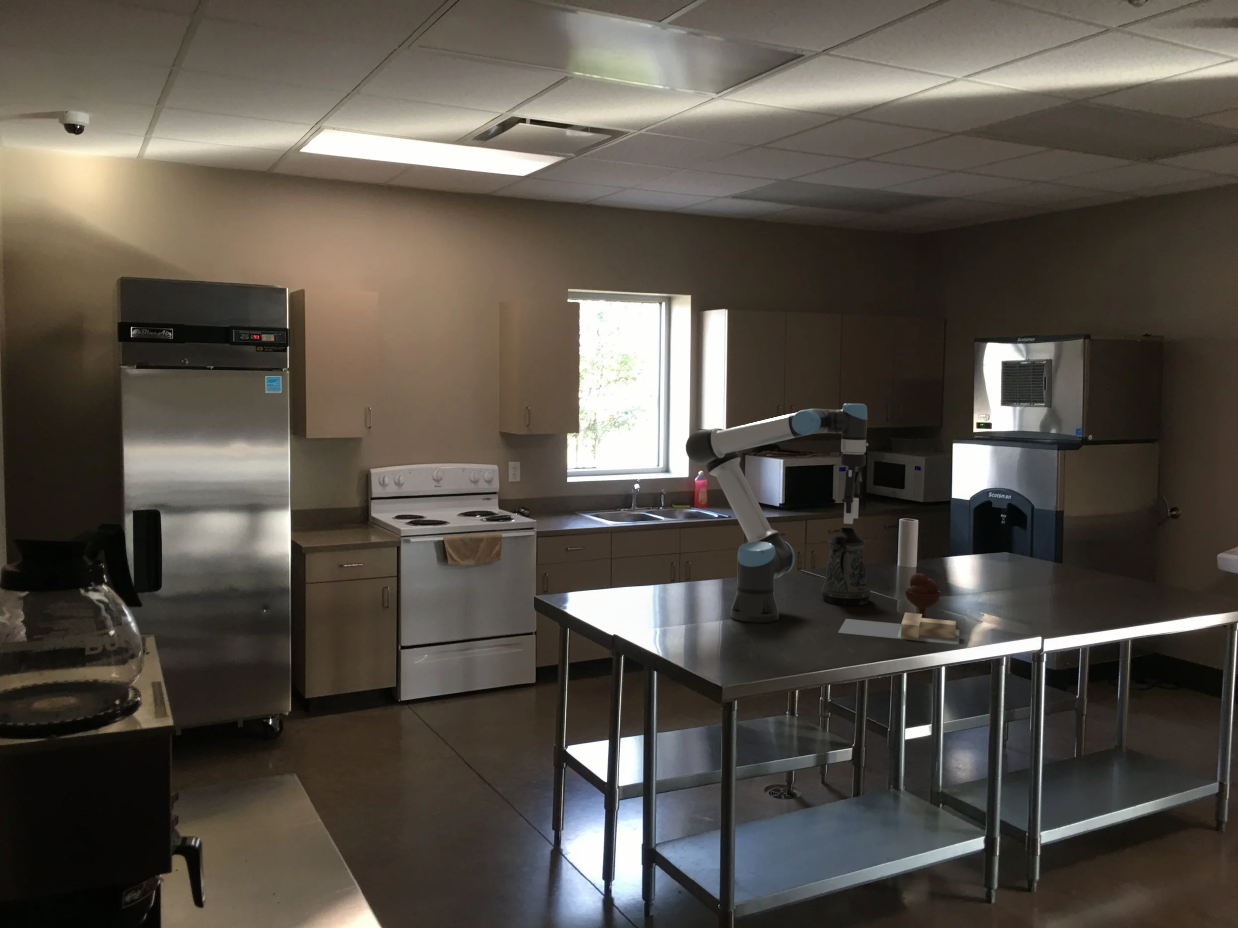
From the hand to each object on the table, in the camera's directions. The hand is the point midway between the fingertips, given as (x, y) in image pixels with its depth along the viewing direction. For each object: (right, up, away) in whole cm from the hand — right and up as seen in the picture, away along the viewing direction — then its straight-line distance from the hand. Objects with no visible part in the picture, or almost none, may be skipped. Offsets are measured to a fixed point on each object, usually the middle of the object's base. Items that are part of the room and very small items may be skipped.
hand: (851, 520), depth 313 cm
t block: (+20, -33, -14) cm, 41 cm away
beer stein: (+6, -30, +31) cm, 43 cm away
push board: (+12, -33, -11) cm, 37 cm away
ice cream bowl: (+24, -32, +5) cm, 40 cm away
